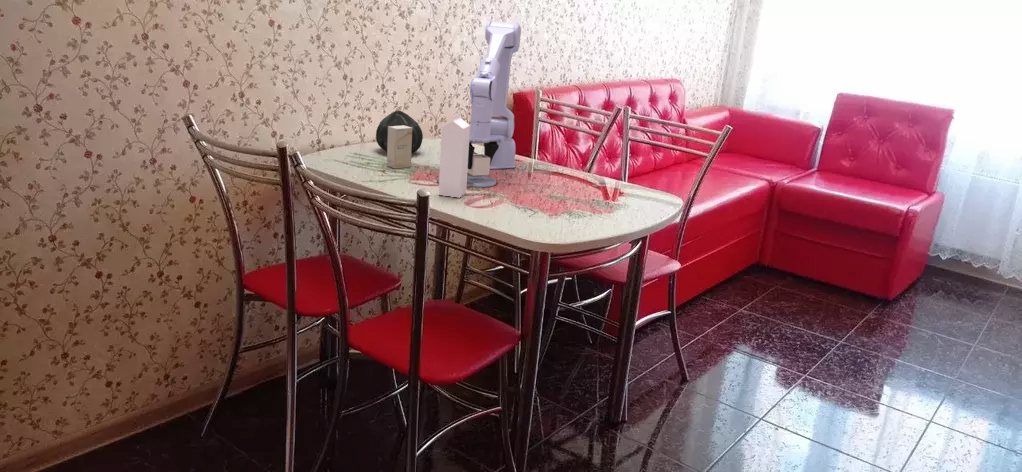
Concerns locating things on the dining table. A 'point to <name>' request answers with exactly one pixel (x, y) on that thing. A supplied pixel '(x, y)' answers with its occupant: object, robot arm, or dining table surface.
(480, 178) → the light blue plate
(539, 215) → the dining table surface
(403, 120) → the squash
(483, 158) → the letter cube
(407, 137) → the skincare box
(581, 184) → the dining table surface
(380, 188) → the dining table surface
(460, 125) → the milk
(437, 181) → the cork mat
